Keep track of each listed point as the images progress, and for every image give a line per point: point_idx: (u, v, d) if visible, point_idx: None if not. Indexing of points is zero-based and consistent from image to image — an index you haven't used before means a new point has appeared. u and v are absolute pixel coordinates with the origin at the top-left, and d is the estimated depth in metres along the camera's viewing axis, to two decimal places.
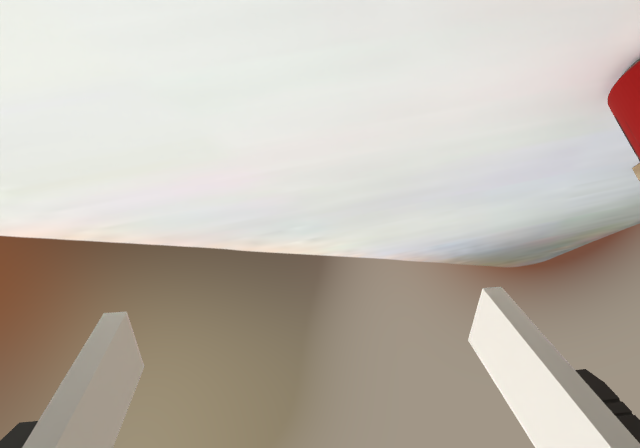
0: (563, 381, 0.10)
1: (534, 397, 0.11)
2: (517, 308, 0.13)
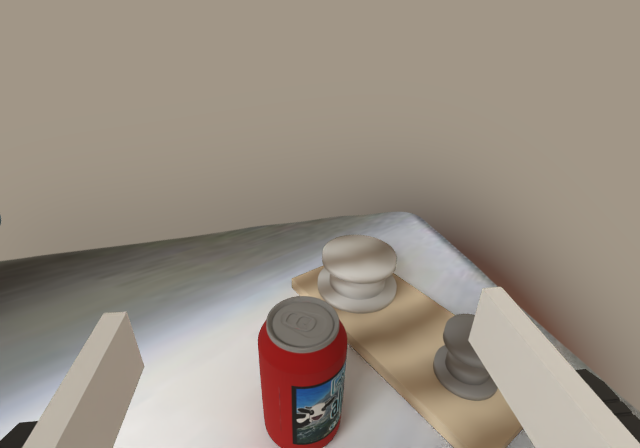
0: (563, 381, 0.10)
1: (534, 397, 0.11)
2: (517, 308, 0.13)
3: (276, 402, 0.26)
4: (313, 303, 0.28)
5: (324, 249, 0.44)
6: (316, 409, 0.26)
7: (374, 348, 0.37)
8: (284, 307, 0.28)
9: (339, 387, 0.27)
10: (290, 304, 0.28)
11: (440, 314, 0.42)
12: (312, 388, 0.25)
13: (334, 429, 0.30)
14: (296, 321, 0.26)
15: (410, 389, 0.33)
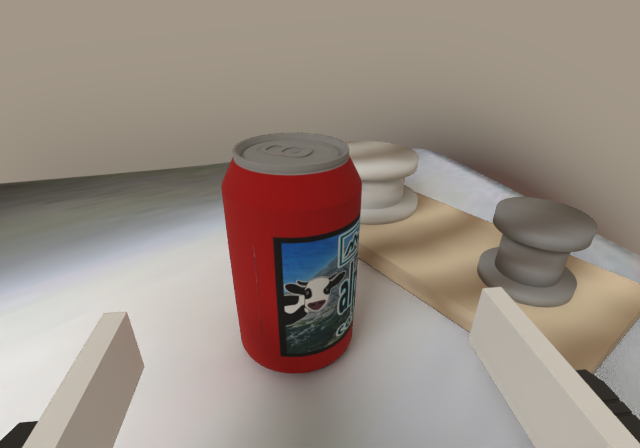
0: (563, 381, 0.10)
1: (533, 397, 0.11)
2: (517, 308, 0.13)
3: (252, 278, 0.17)
4: (308, 140, 0.19)
5: None
6: (314, 288, 0.16)
7: (395, 255, 0.28)
8: (264, 142, 0.18)
9: (351, 260, 0.17)
10: (273, 141, 0.18)
11: (477, 224, 0.32)
12: (308, 243, 0.15)
13: (343, 339, 0.20)
14: (282, 150, 0.17)
15: (450, 296, 0.24)
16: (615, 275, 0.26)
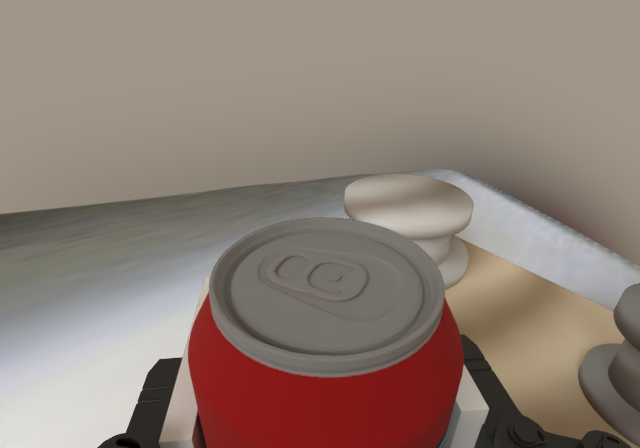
0: None
1: None
2: None
3: None
4: (351, 235, 0.10)
5: (347, 190, 0.27)
6: None
7: None
8: (271, 243, 0.10)
9: None
10: (288, 236, 0.10)
11: (554, 295, 0.24)
12: None
13: None
14: (306, 274, 0.09)
15: None
16: None
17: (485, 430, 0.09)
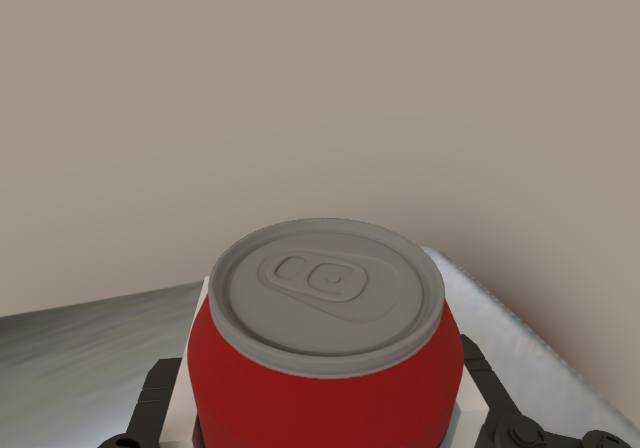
0: None
1: None
2: None
3: None
4: (351, 235, 0.10)
5: None
6: None
7: None
8: (270, 243, 0.10)
9: None
10: (287, 237, 0.10)
11: None
12: None
13: None
14: (306, 274, 0.09)
15: None
16: None
17: (484, 431, 0.09)
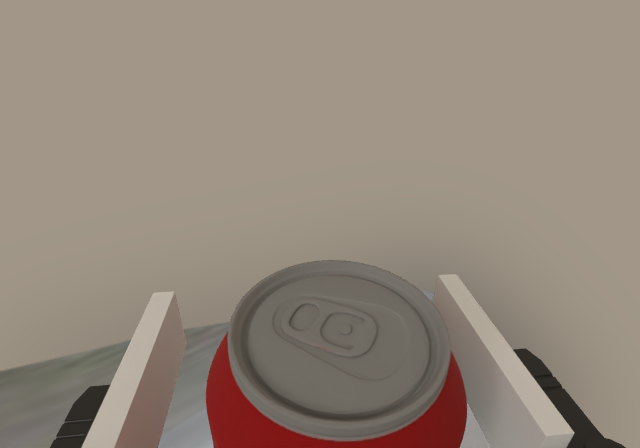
0: (498, 357, 0.11)
1: (476, 374, 0.12)
2: (467, 293, 0.13)
3: None
4: (359, 278, 0.11)
5: None
6: None
7: None
8: (283, 287, 0.10)
9: None
10: (299, 280, 0.11)
11: None
12: None
13: None
14: (319, 325, 0.09)
15: None
16: None
17: None
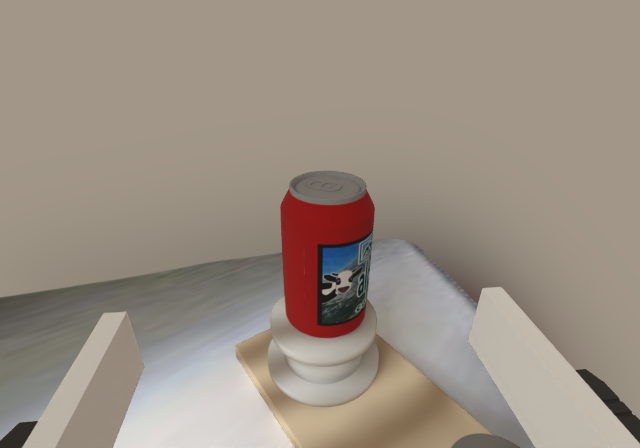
0: (563, 381, 0.10)
1: (534, 397, 0.11)
2: (517, 308, 0.13)
3: (301, 271, 0.25)
4: (337, 177, 0.27)
5: (274, 308, 0.31)
6: (342, 277, 0.25)
7: None
8: (307, 178, 0.27)
9: (366, 259, 0.26)
10: (313, 177, 0.27)
11: (441, 407, 0.29)
12: (340, 248, 0.24)
13: (360, 315, 0.28)
14: (321, 186, 0.25)
15: None
16: None
17: None
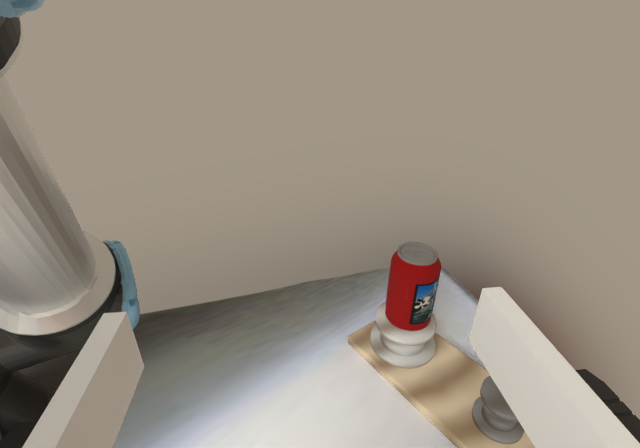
0: (563, 381, 0.10)
1: (534, 397, 0.11)
2: (517, 308, 0.13)
3: (404, 296, 0.49)
4: (419, 245, 0.51)
5: (377, 314, 0.55)
6: (425, 300, 0.49)
7: (424, 399, 0.48)
8: (404, 247, 0.50)
9: (436, 289, 0.50)
10: (406, 246, 0.51)
11: (472, 368, 0.53)
12: (426, 286, 0.48)
13: (430, 318, 0.52)
14: (413, 252, 0.49)
15: (456, 434, 0.44)
16: None
17: None
